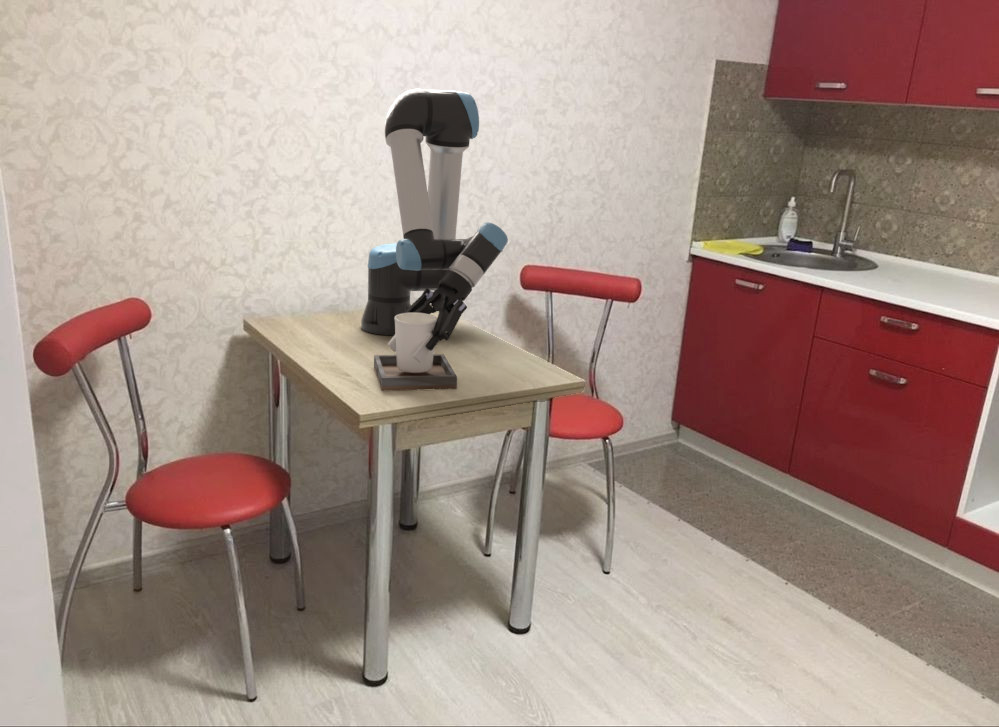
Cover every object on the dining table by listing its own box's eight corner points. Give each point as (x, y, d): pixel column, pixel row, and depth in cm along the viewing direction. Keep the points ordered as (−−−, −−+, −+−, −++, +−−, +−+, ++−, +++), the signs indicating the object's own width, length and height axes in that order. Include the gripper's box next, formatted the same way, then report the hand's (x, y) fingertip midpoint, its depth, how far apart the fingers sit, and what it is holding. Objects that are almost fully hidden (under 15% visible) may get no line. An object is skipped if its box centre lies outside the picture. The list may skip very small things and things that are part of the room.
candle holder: (396, 374, 194) (398, 323, 191) (390, 361, 203) (391, 312, 199) (439, 373, 197) (441, 323, 193) (431, 360, 206) (432, 312, 202)
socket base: (373, 366, 206) (374, 355, 206) (443, 365, 211) (443, 354, 210) (381, 390, 191) (381, 378, 190) (456, 388, 195) (457, 376, 194)
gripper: (499, 298, 197) (442, 375, 192) (440, 280, 212) (385, 350, 207) (482, 278, 192) (423, 356, 187) (423, 260, 207) (367, 332, 202)
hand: (403, 353), depth 197 cm, fingers closed on candle holder, 9 cm apart
